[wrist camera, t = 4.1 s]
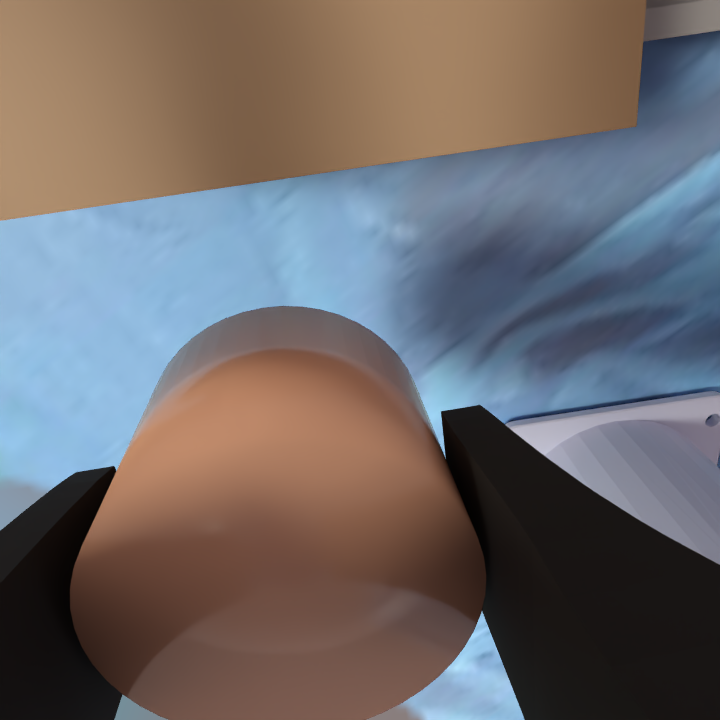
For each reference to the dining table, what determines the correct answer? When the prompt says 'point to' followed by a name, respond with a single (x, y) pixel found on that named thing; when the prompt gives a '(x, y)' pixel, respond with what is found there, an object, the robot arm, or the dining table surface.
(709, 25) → the grey drawer
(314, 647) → the tan rounded cylinder
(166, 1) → the housing
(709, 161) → the dining table surface
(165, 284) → the dining table surface
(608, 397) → the dining table surface
